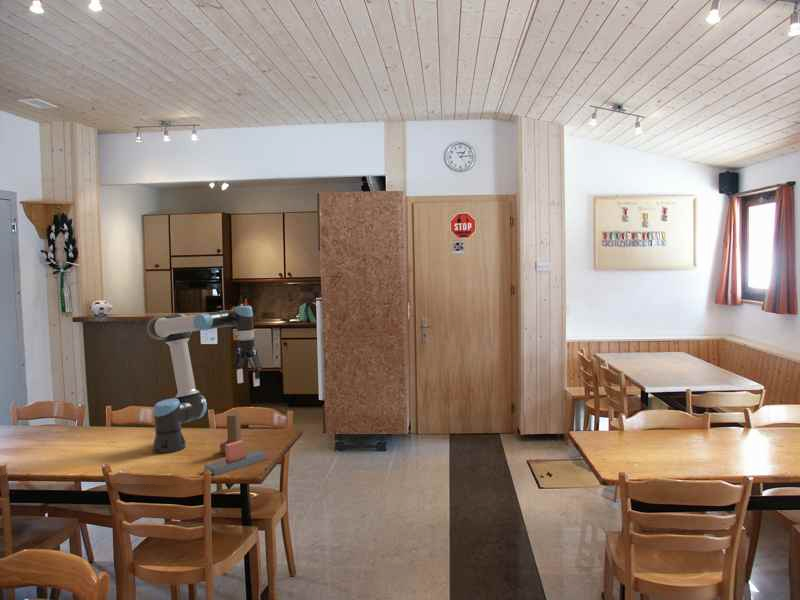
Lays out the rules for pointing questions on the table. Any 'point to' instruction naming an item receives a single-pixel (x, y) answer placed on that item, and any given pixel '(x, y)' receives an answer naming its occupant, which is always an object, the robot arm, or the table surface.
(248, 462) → the rail
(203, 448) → the table surface
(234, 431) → the wooden block
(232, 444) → the pink slab
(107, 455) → the table surface
